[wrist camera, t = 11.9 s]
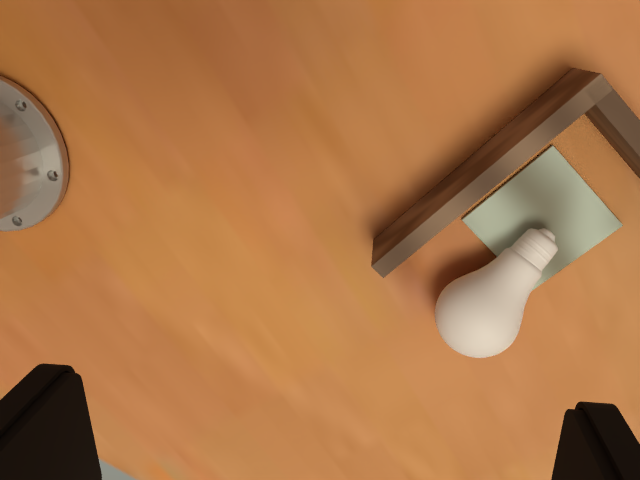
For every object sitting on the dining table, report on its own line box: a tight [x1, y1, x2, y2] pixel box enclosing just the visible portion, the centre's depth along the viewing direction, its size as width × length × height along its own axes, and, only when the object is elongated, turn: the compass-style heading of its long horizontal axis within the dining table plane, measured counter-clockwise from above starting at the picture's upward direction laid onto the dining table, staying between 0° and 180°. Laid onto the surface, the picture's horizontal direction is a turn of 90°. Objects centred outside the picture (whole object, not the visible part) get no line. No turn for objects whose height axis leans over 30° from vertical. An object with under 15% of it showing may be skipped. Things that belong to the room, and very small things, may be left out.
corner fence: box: [371, 68, 640, 290], centre depth 37 cm, size 18×18×5 cm
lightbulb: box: [435, 228, 558, 358], centre depth 38 cm, size 6×6×11 cm
